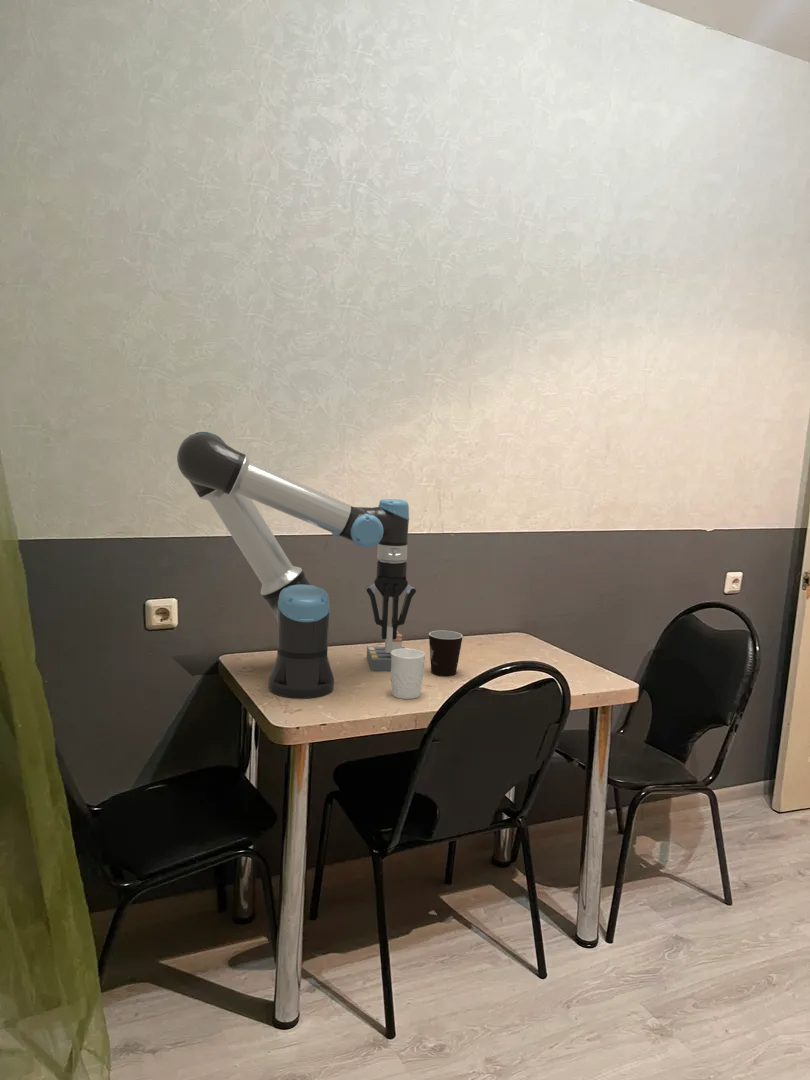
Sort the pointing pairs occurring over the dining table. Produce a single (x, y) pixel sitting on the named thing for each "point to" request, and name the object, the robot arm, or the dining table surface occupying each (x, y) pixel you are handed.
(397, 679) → the white cup
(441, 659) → the coffee mug
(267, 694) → the dining table surface
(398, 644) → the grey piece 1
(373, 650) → the grey slotted tray
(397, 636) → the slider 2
